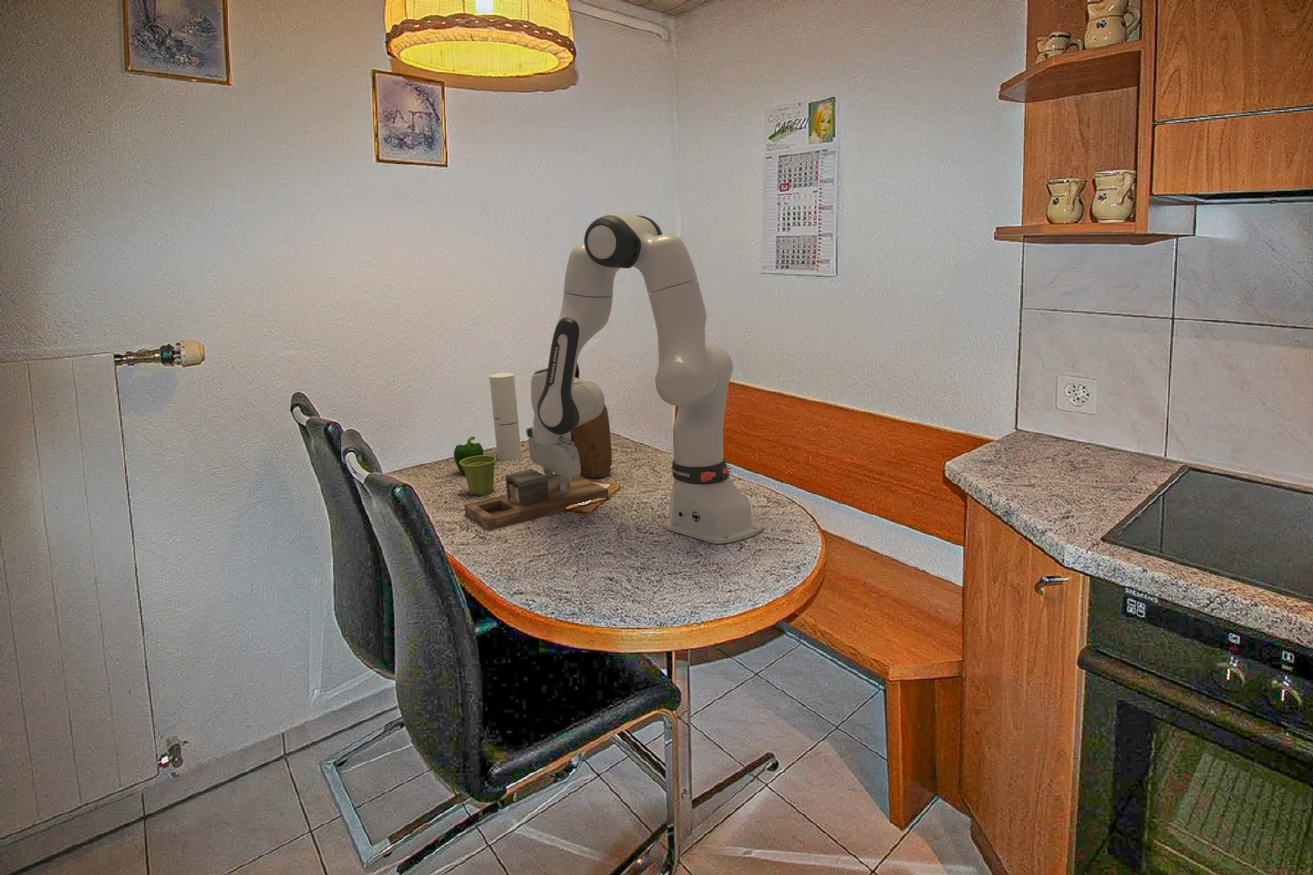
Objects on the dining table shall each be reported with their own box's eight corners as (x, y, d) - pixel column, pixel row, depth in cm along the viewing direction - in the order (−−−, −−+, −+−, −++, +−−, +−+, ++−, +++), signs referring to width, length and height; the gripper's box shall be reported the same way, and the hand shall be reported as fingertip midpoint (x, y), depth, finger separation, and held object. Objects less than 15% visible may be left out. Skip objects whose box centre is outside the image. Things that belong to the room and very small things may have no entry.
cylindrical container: (509, 452, 245) (502, 372, 239) (526, 455, 241) (519, 374, 235) (492, 458, 240) (484, 376, 233) (509, 461, 235) (501, 378, 229)
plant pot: (467, 499, 203) (463, 467, 200) (460, 489, 211) (456, 458, 209) (503, 493, 206) (500, 461, 204) (495, 484, 215) (491, 453, 212)
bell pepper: (465, 478, 221) (461, 443, 218) (451, 472, 227) (447, 438, 224) (491, 471, 226) (488, 437, 224) (477, 466, 232) (473, 433, 230)
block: (615, 475, 217) (611, 403, 212) (591, 481, 213) (586, 408, 208) (595, 466, 226) (590, 398, 221) (572, 472, 222) (566, 402, 217)
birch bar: (570, 491, 197) (569, 476, 196) (518, 504, 189) (517, 488, 188) (561, 487, 201) (560, 472, 200) (510, 500, 193) (509, 484, 192)
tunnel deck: (608, 498, 198) (606, 466, 196) (488, 530, 181) (485, 494, 179) (580, 485, 209) (578, 454, 207) (465, 514, 192) (461, 480, 190)
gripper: (585, 438, 187) (589, 494, 191) (545, 424, 203) (549, 475, 207) (561, 443, 184) (565, 500, 187) (522, 428, 200) (527, 480, 203)
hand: (556, 487), depth 197 cm, fingers closed on birch bar, 4 cm apart
